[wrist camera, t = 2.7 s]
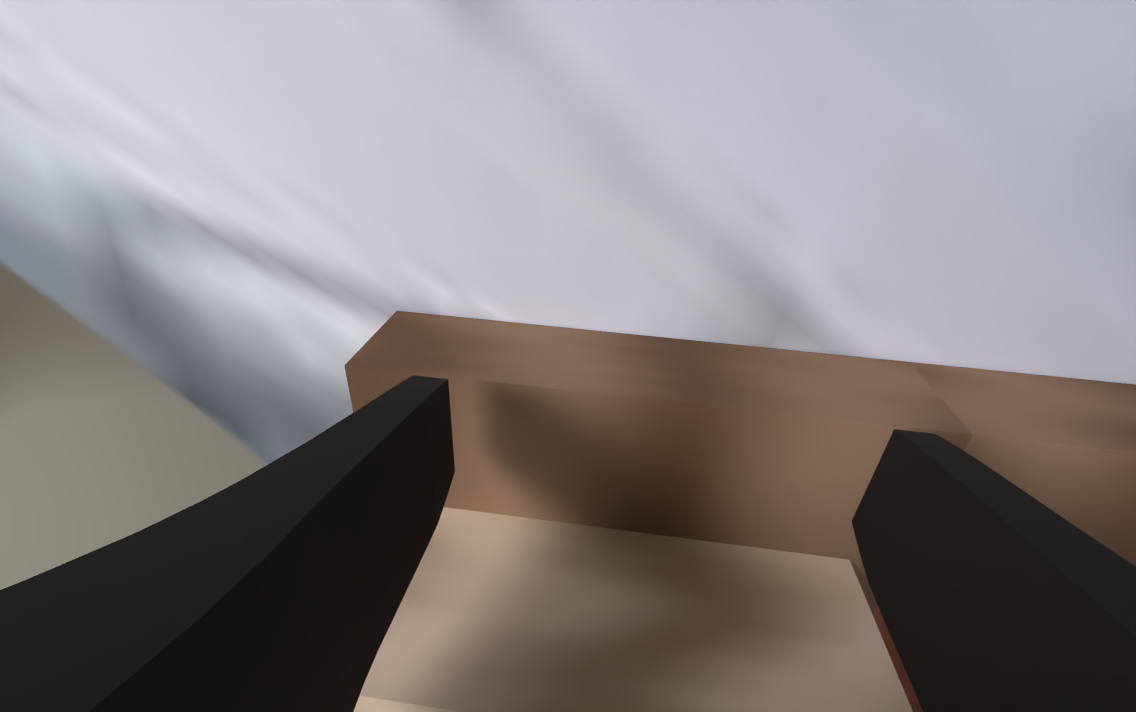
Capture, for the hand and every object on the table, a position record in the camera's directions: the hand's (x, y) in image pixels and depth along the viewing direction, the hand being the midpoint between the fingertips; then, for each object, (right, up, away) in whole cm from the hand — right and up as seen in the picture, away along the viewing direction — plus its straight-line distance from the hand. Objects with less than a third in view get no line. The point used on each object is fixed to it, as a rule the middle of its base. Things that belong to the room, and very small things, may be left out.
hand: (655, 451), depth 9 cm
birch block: (0, -5, +4) cm, 7 cm away
